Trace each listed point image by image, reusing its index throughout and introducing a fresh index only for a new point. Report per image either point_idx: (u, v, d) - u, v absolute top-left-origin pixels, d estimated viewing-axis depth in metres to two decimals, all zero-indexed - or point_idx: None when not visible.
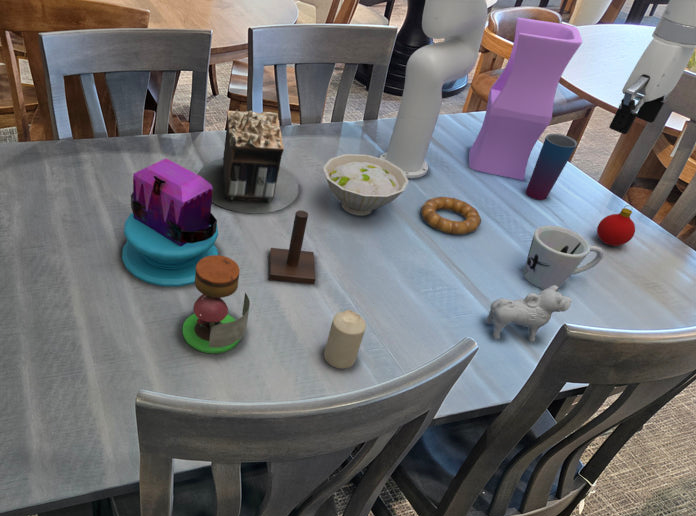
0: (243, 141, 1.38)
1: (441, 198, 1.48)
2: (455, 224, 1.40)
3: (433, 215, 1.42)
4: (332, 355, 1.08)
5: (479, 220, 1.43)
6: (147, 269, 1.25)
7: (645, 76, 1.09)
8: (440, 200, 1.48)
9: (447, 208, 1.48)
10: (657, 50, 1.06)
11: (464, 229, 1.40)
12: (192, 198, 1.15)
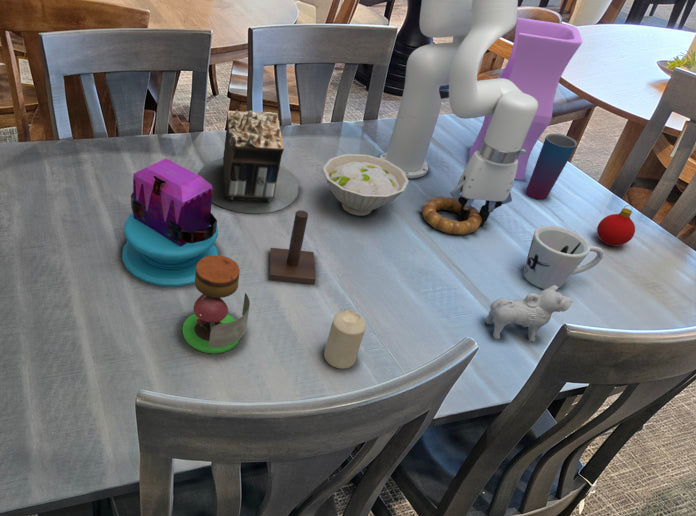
0: (243, 141, 1.38)
1: (442, 198, 1.48)
2: (456, 224, 1.40)
3: (434, 215, 1.42)
4: (332, 355, 1.08)
5: (480, 220, 1.43)
6: (147, 269, 1.25)
7: (465, 180, 1.39)
8: (441, 200, 1.48)
9: (448, 208, 1.48)
10: (472, 159, 1.36)
11: (465, 229, 1.40)
12: (192, 198, 1.15)
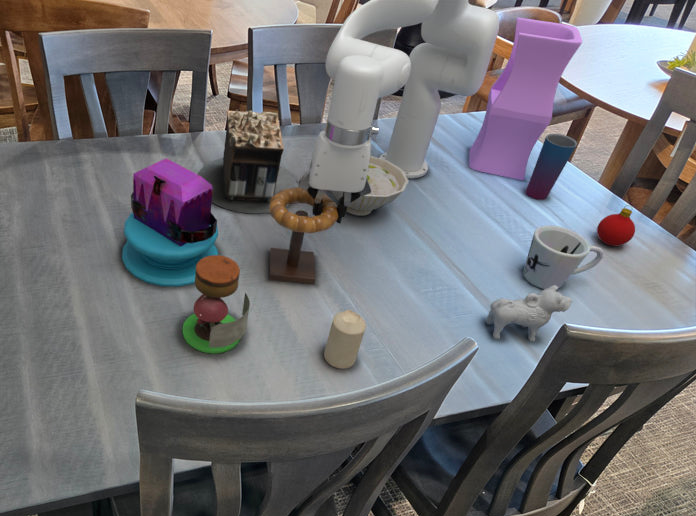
0: (243, 141, 1.38)
1: (295, 189, 1.23)
2: (302, 220, 1.15)
3: (278, 209, 1.17)
4: (332, 355, 1.08)
5: (335, 216, 1.17)
6: (147, 269, 1.25)
7: None
8: (294, 192, 1.22)
9: (303, 201, 1.23)
10: (317, 140, 1.11)
11: (313, 226, 1.15)
12: (192, 198, 1.15)
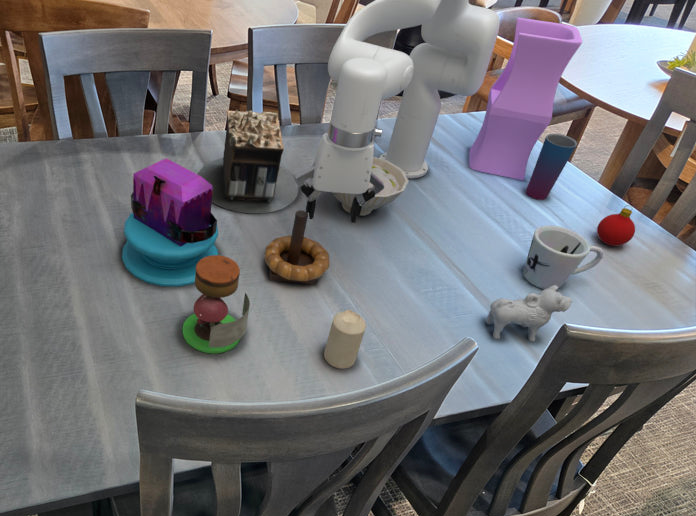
0: (243, 141, 1.38)
1: (290, 237, 1.30)
2: (295, 269, 1.22)
3: (273, 258, 1.25)
4: (332, 355, 1.08)
5: (326, 264, 1.25)
6: (147, 269, 1.25)
7: (315, 166, 1.14)
8: (288, 240, 1.30)
9: None
10: (320, 142, 1.11)
11: (305, 275, 1.22)
12: (192, 198, 1.15)
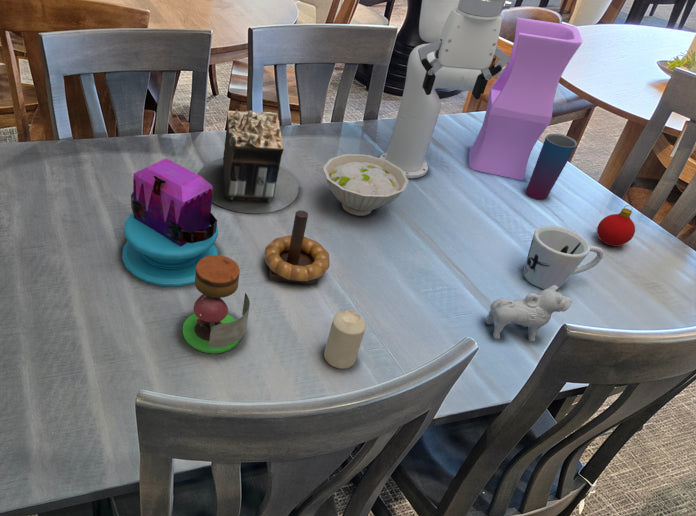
0: (243, 141, 1.38)
1: (290, 237, 1.30)
2: (295, 269, 1.22)
3: (273, 258, 1.25)
4: (332, 355, 1.08)
5: (326, 264, 1.25)
6: (147, 269, 1.25)
7: (441, 40, 1.20)
8: (288, 240, 1.30)
9: None
10: (449, 16, 1.18)
11: (305, 275, 1.22)
12: (192, 198, 1.15)
